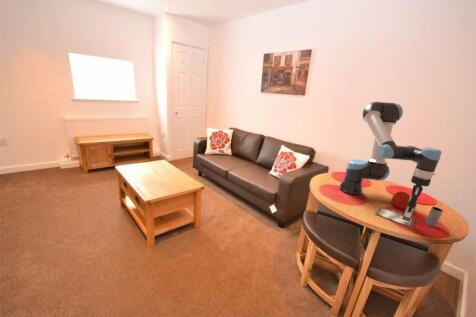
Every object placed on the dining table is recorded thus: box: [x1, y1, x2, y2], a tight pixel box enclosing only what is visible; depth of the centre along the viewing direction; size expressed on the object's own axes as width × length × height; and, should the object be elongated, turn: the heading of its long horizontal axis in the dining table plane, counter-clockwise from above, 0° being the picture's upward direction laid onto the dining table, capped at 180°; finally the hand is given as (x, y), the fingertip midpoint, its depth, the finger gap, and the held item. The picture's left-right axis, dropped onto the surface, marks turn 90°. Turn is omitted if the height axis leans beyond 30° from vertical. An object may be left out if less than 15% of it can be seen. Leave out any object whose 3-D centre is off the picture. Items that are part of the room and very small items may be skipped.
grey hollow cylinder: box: [425, 206, 443, 228], centre depth 117 cm, size 4×4×10 cm
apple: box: [390, 191, 411, 210], centre depth 135 cm, size 10×10×10 cm
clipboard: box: [374, 206, 416, 230], centre depth 124 cm, size 18×13×1 cm
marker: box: [402, 196, 419, 222], centre depth 115 cm, size 4×4×14 cm
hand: (407, 215), depth 117 cm, fingers closed on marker, 4 cm apart
